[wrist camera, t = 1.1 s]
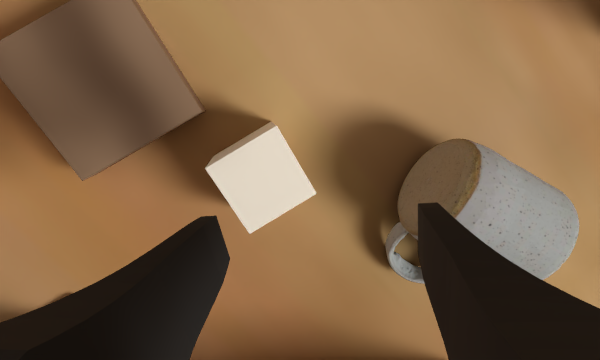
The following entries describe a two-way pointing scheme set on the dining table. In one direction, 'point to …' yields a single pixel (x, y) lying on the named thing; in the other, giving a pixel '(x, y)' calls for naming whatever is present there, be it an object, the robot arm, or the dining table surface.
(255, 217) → the cream cube
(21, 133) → the dining table surface
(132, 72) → the walnut base
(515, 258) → the ceramic mug
